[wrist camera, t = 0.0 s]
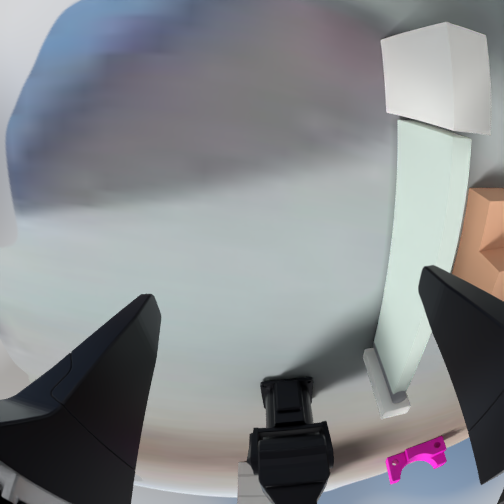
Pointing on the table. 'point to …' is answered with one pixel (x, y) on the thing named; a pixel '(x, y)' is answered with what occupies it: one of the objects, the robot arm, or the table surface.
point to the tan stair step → (483, 241)
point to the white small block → (433, 110)
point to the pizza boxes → (249, 486)
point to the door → (419, 242)
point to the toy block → (417, 457)
